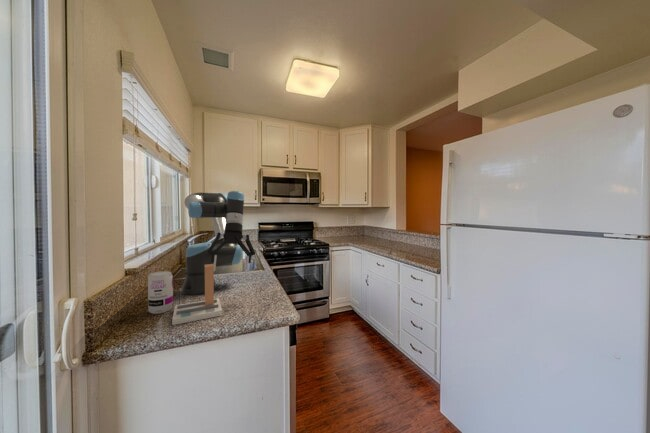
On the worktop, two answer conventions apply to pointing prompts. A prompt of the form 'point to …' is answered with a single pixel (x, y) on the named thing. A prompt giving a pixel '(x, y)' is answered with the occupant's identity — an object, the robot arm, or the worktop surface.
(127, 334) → the worktop surface
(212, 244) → the robot arm
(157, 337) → the worktop surface
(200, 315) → the switch base
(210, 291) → the orange rectangular block
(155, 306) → the supplement can
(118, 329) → the worktop surface
